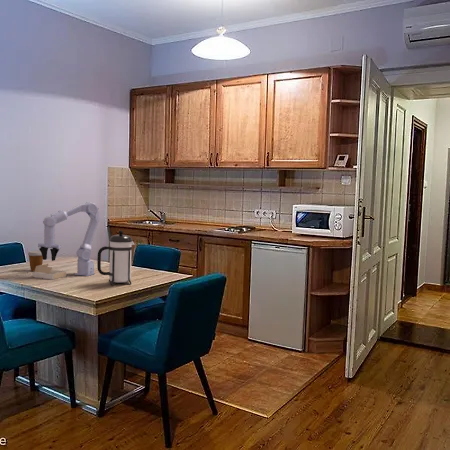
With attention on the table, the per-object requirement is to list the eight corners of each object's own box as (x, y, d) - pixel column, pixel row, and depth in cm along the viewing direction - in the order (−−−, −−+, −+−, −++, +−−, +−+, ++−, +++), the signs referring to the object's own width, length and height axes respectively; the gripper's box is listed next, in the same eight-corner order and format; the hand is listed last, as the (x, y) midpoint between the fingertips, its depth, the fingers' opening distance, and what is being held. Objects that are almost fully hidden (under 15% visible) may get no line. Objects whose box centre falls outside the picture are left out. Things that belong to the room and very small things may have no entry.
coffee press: (117, 279, 286) (118, 228, 284) (138, 282, 278) (140, 230, 276) (96, 283, 271) (97, 230, 269) (117, 287, 263) (118, 232, 261)
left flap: (52, 267, 280) (51, 267, 280) (50, 273, 279) (50, 273, 279) (37, 265, 283) (37, 265, 283) (36, 271, 282) (36, 271, 282)
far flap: (48, 263, 292) (48, 263, 292) (36, 266, 282) (36, 266, 282) (46, 268, 293) (46, 268, 293) (34, 271, 283) (34, 271, 283)
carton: (66, 276, 289) (66, 271, 289) (53, 279, 278) (53, 274, 278) (47, 274, 294) (47, 269, 294) (32, 277, 282) (32, 272, 282)
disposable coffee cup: (38, 272, 298) (38, 253, 297) (24, 271, 300) (24, 252, 299) (47, 269, 307) (47, 251, 306) (33, 268, 309) (33, 250, 308)
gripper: (34, 236, 283) (34, 259, 284) (55, 238, 278) (54, 262, 279) (42, 235, 289) (42, 258, 290) (63, 237, 285) (62, 260, 286)
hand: (49, 260), depth 285 cm, fingers open, 5 cm apart
